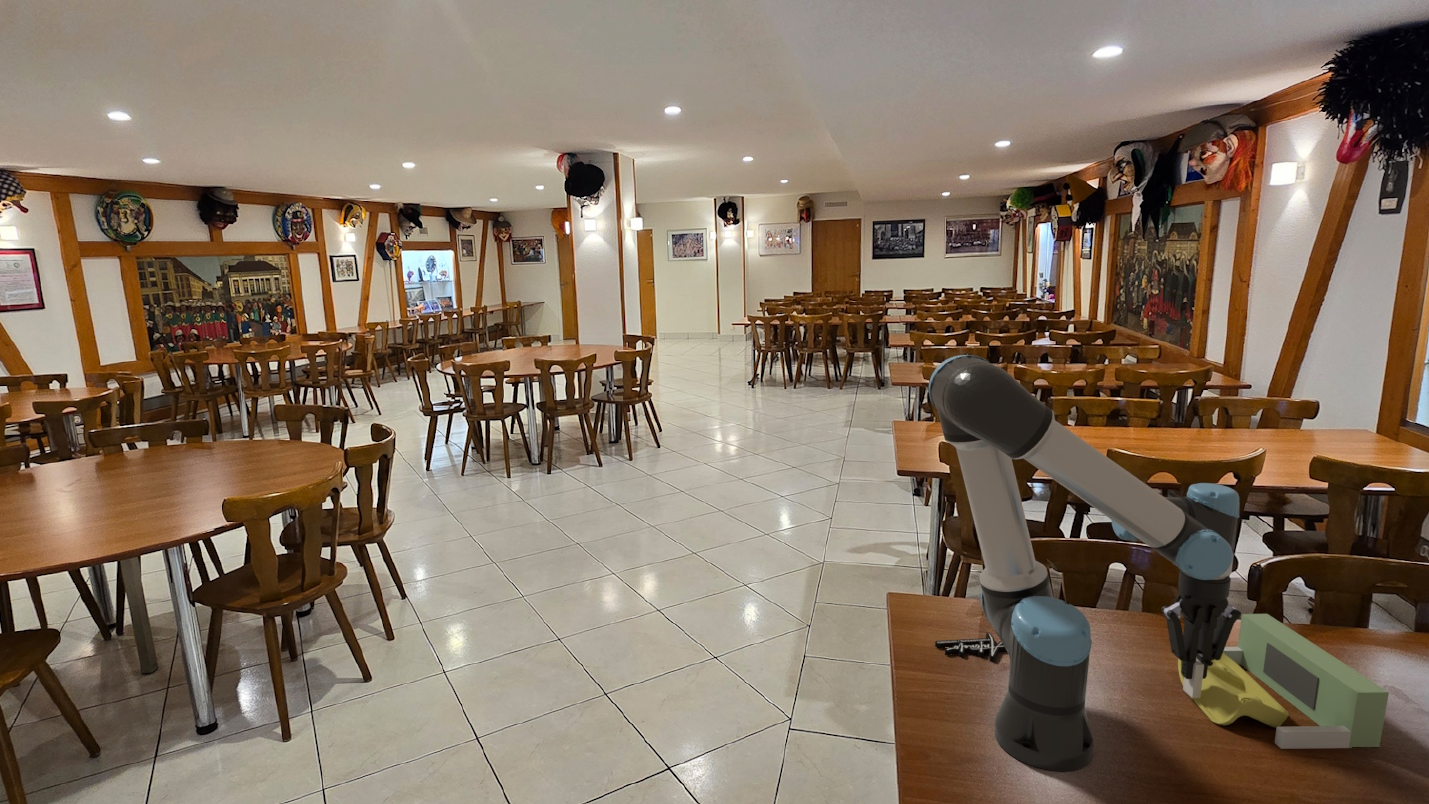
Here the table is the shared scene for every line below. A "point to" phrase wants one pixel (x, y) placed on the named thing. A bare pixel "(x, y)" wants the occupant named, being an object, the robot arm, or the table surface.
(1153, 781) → the table surface
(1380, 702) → the green sign stand
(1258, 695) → the plastic component
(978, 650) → the nameplate
